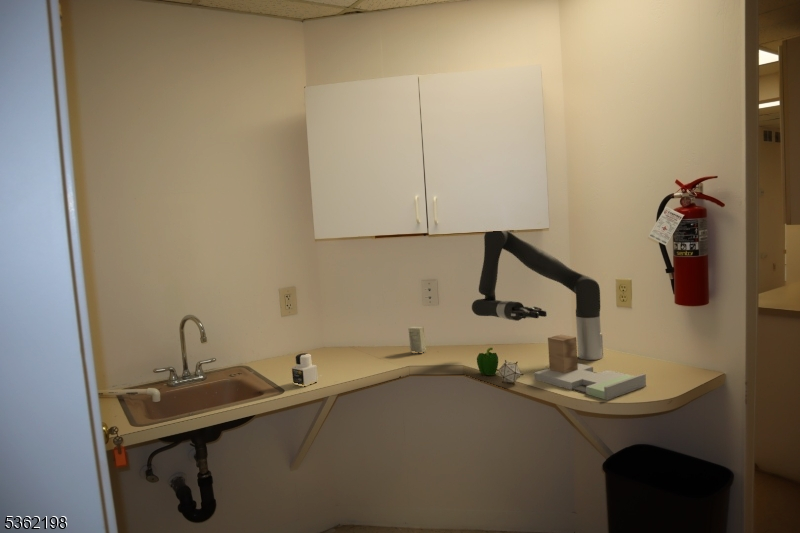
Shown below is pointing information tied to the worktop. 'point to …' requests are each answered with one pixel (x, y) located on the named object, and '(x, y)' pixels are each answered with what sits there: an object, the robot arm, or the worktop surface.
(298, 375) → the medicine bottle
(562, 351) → the walnut block
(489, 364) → the bell pepper
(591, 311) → the robot arm
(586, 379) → the board
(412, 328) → the skincare box
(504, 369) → the game die
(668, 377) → the worktop surface
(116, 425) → the worktop surface
